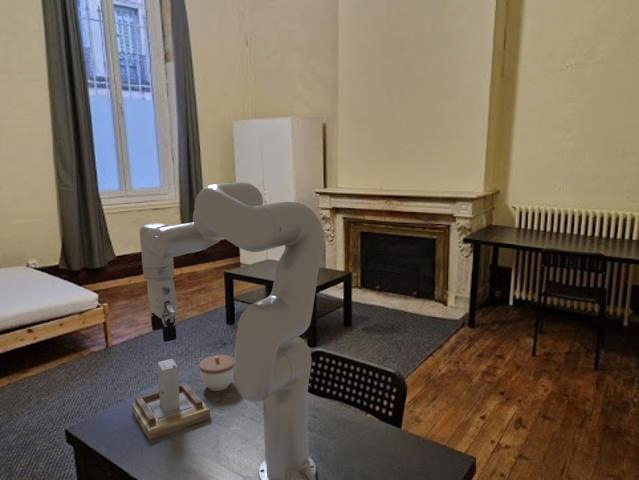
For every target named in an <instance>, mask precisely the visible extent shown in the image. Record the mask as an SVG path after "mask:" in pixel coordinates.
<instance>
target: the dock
mask: <svg viewBox="0 0 639 480" xmlns="http://www.w3.org/2000/svg"><path fill="white" fill-rule="evenodd" d="M134 399H135V400H134V401H135V402H132V403H131V408H132V413H133V414H134V416H135V418H136V420H137V421H138V423H139V425H140V427H141V428H142V430H143V433H145V435H146V437H147V439H148V440H149V441H152V440H154V439H157V438H160V437H162V436H165V435H167V434H170V433H173V432H176V431H179V430H182V429H185V428H187V427H189V426H192V425H195V424H197V423H201V422H203V421H205V420H209V419H211V409H210V408H209V407H208V405H206V403H205V402H203V400H202V399H201V398H200V396H198V395H197V394H196V392H195V391H194V390H193V389H192V388H191V387H190V386H189V385H188V384H187V383H186V382H185V381H183V382H181V383H180V382H179V401H180V408H178V409H175V410H172V411H168V412H164V411H163V409H162V407H161V404H160V395H159V389H158V390H155V391H151V392H149V393H145V394H142V395H139V396H135V397H134Z"/></svg>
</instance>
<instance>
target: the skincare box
mask: <svg viewBox="0 0 639 480" xmlns="http://www.w3.org/2000/svg"><path fill="white" fill-rule="evenodd" d="M157 373H158V374H157V375H158V390H159V395H160V404H161V407H162V409H163V411H164V412H168V411H172V410H175V409H178V408H180V401H179V384H180V381H179V367H178V365H177V363H176V361H175V359H173V358H170V359H166V360H162V361H158V362H157Z"/></svg>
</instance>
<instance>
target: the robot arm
mask: <svg viewBox="0 0 639 480" xmlns="http://www.w3.org/2000/svg"><path fill="white" fill-rule="evenodd" d="M263 197H264V196H263V194H262V192H261V191H260V190H259V189H258V188H257V187H256V186H255V185H254V184H251V183H248V182H241V181H240V182H229V183H217V184H214V183H213V184H209V185H207V186H205V187H203V188H202V189H201V190H200V191H199V193H197V195H196V198H195V200H194V201H195V202H194V210H193V214H192V222H186V223H180V224H179V223H178V224H174V225H169V224H167V223H160V222H159V223H158V222H155V223H148V224H145V225H141V227H140V229H139V240H140V252H141V264H142V276H143V280H144V281H147V282H146V285H147V299H148V300H147V301H148V302H147V303H148V308H149V311H150V322H151V330H153V332H154V331H158V330H162V339H163V342H164V343H167V342H171V341H174V340H177V339H178V337H177V327H176V326H177V325H176V324H177V323H176V321H177V320H176V318H175V317H176V316H177V315H178V314H179V311H178V310H179V308H178V302H177V293H176V286H175V282H174V277H175V265H174V258H175V257H179V256H184V255H187V254H193V253H197V252H201V251H204V250H206V249H208V248H209V247H212V246H213V245H215V244H218V243H219V242H220V241H221V240H222V239H224V240H226V241H227V242H229V243H231V244H232V245H234V246H235V247H238V248H239V249H241V250H244V251H247V252H251V253H259V252H264V251H267V250H271V249H275V248H279V247H283V246H284V250H283V253H282V254H281V256H280V258H279V260H278V262H277V263H276V267H275V270H274V275H273V285H272V289H271V292H270V293H269V295H268V296H267V297H265V298H263V299H260V300H258V301H255V302H253V303H252V304H249V306H247V307H246V308H245V309H244V310H243V312H242V313H241V315H240V318H239V319H238V322H237V328H236V336H235V337H236V338H235V345H234V346H235V347H234V354H233V358H234V366H233V376H234V378H233V381H234V385H235V388H236V390H237V392H238V394H239V395H240V397H242V398H243V399H244V400H246V401H248V402H253V403H258V402H262V401H263V402H262V407H263V408H262V409H263V413H262V414H263V436H264V438H263V439H264V458H265V459H264V460H263V461H262V462H261V464H259V468H258V478H259V480H316V475H317V474H316V473H317V468H316V467H317V466H316V463H315V462H314V460H313V459H312V458H311V457H310V456H309V455H310V453H309V418H308V417H309V416H308V415H309V413H308V412H309V409H308V408H309V406H308V403H309V402H308V399H309V398H308V395H309V391H308V390H309V382H310V376H311V369H312V354H311V350H310V347H309V346H308V344H307V342H306V341H305V339H303V338H301V337H300V336H302V334H304V333H305V332H306V331H307V330H308V329H309V327H310V325H311V321H312V316H313V310H314V304H315V296H316V289H317V282H318V281H317V280H318V276H319V269H320V266H321V261H322V257H323V253H324V251H323V250H324V243H325V241H324V240H325V236H324V230H323V227H322V224H321V222H320V219H319V217H318V216H317V214H316V213H315V211H314V210H312V208H310V207H309V206H308V205H306V204H304V203H301V202H296V201H282V202H281V201H279V202H273V203H268V204H267V203H266V204H264V198H263Z"/></svg>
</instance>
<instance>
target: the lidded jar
mask: <svg viewBox="0 0 639 480" xmlns="http://www.w3.org/2000/svg"><path fill="white" fill-rule="evenodd" d="M233 366H234V356H233V357H232V356H231V355H228V354H227V355H226V354H215V355H211V356H208V357H205V358H203V359H202V360H201V361H200V362H199V364H198V368H199V374H200V378H201V381H202V383H203V384H204V385H205V386H206V388H208V389H209V390H211V391H212V392H213V391H214V392H220V391H223V390H226V389H227V388H228V387H229V385H231V383H232V382H233V381H234V376H233Z"/></svg>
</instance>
